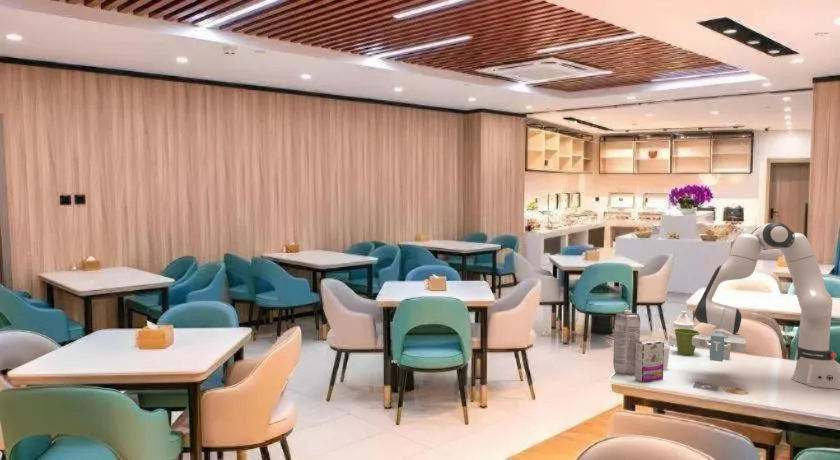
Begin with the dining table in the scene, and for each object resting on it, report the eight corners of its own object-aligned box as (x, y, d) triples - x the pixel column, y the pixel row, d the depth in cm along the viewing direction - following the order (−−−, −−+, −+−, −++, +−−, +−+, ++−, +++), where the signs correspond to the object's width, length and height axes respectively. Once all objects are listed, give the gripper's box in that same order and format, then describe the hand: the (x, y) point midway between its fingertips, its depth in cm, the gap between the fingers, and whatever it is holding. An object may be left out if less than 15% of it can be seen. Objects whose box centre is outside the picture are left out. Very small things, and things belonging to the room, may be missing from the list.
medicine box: (726, 357, 313) (727, 339, 312) (729, 359, 308) (730, 341, 308) (709, 356, 314) (710, 338, 313) (712, 359, 309) (713, 341, 308)
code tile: (719, 386, 266) (719, 385, 266) (717, 392, 258) (717, 391, 258) (695, 382, 270) (695, 381, 270) (692, 388, 262) (692, 387, 262)
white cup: (650, 370, 288) (651, 347, 287) (649, 365, 296) (649, 343, 295) (669, 371, 286) (670, 349, 286) (667, 366, 294) (668, 345, 293)
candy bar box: (654, 376, 277) (656, 339, 276) (663, 380, 273) (665, 341, 272) (633, 379, 273) (635, 340, 272) (642, 382, 269) (643, 343, 268)
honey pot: (695, 349, 327) (697, 314, 326) (668, 346, 332) (670, 311, 331) (695, 343, 339) (696, 309, 338) (668, 341, 344) (670, 307, 343)
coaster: (749, 390, 261) (749, 389, 261) (748, 396, 253) (748, 395, 253) (724, 386, 265) (724, 386, 265) (722, 392, 257) (722, 391, 257)
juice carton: (638, 376, 278) (640, 313, 276) (612, 373, 281) (614, 311, 279) (638, 370, 286) (640, 310, 284) (613, 368, 290) (615, 308, 288)
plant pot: (697, 358, 310) (698, 334, 309) (671, 354, 316) (672, 331, 315) (700, 352, 320) (701, 330, 320) (675, 349, 326) (675, 327, 325)
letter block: (723, 359, 263) (724, 334, 262) (722, 361, 259) (723, 336, 258) (711, 357, 265) (712, 333, 264) (709, 360, 261) (710, 335, 260)
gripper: (693, 329, 278) (689, 336, 266) (747, 335, 268) (745, 342, 256) (693, 344, 278) (689, 351, 266) (746, 350, 268) (744, 358, 256)
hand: (717, 347), depth 261 cm, fingers closed on letter block, 4 cm apart
